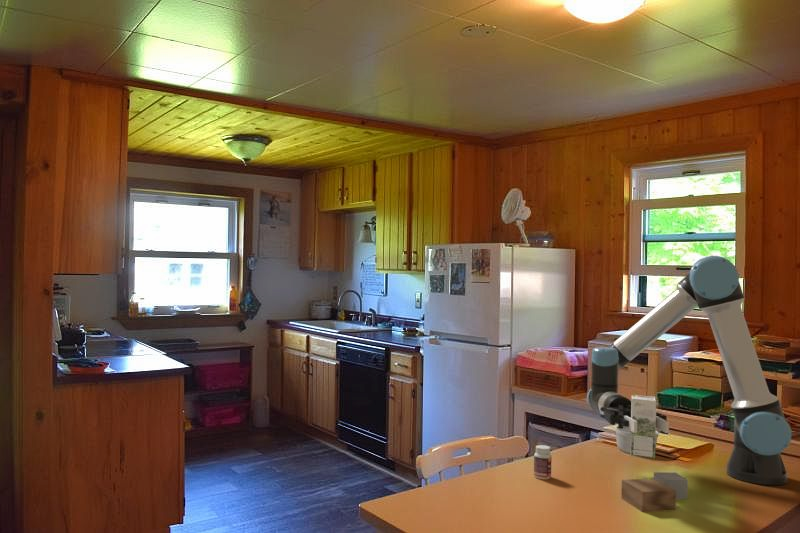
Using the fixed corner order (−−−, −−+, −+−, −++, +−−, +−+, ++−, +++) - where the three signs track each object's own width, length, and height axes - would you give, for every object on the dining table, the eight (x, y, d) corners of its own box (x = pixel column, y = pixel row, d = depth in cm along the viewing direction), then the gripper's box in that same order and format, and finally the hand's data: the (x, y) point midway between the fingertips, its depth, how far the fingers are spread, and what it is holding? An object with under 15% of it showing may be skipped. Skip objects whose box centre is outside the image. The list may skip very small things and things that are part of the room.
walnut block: (653, 498, 160) (653, 478, 160) (675, 511, 151) (675, 490, 151) (621, 499, 158) (621, 479, 158) (642, 512, 149) (642, 491, 149)
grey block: (675, 491, 165) (675, 472, 165) (687, 499, 159) (687, 479, 159) (653, 491, 165) (653, 472, 165) (664, 499, 159) (664, 479, 159)
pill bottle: (551, 480, 171) (552, 449, 171) (533, 478, 172) (534, 448, 172) (550, 475, 175) (551, 445, 176) (533, 473, 176) (534, 444, 176)
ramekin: (661, 450, 206) (661, 428, 206) (653, 459, 195) (654, 436, 195) (620, 443, 213) (620, 423, 213) (610, 451, 202) (610, 430, 202)
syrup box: (654, 453, 158) (655, 395, 158) (655, 459, 152) (656, 399, 153) (630, 450, 160) (631, 393, 160) (630, 456, 154) (631, 397, 155)
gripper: (651, 421, 174) (691, 443, 151) (580, 420, 174) (610, 442, 151) (651, 395, 175) (692, 412, 152) (581, 393, 174) (611, 411, 151)
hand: (651, 427), depth 151 cm, fingers closed on syrup box, 7 cm apart
